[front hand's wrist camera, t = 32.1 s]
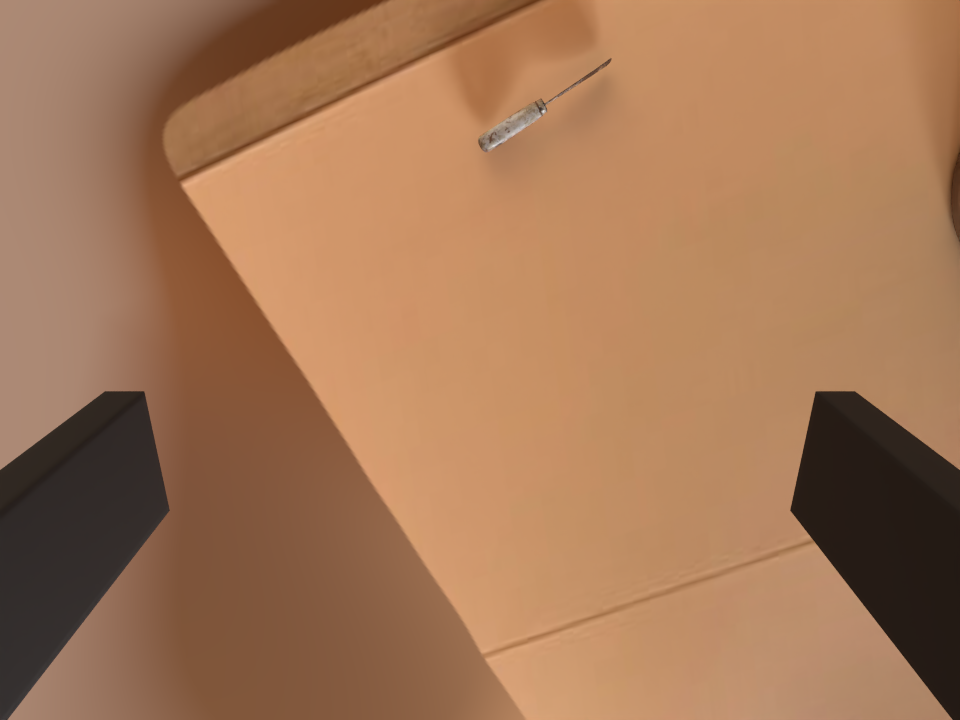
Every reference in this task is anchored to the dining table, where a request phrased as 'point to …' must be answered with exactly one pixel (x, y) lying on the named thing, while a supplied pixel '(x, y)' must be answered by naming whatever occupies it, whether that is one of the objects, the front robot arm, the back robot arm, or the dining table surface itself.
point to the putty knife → (521, 119)
